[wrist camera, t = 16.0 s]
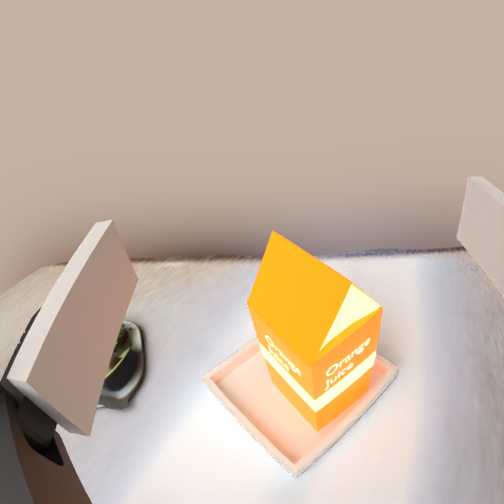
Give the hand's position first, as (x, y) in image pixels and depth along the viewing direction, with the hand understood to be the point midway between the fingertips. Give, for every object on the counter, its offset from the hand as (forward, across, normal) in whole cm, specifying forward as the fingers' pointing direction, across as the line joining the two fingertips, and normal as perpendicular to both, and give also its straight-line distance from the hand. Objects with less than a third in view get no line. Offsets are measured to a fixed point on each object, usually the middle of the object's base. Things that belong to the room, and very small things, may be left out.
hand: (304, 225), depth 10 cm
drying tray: (+10, 0, -28) cm, 30 cm away
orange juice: (+9, +2, -28) cm, 29 cm away
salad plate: (+15, -29, -30) cm, 45 cm away
